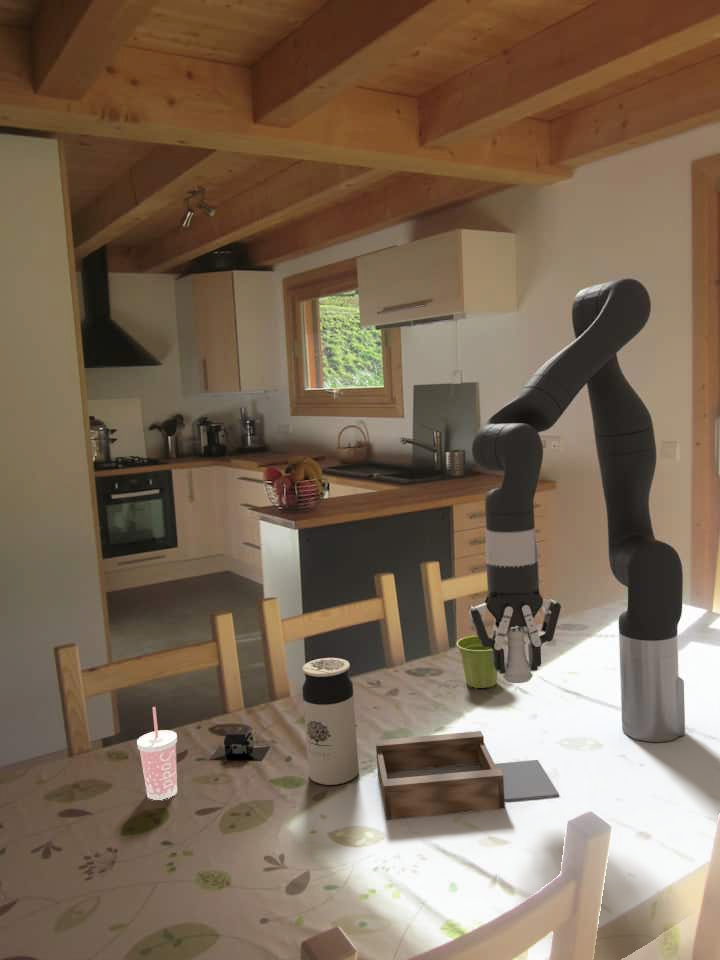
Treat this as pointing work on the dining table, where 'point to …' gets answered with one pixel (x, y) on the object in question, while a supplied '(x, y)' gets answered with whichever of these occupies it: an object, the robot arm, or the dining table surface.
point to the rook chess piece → (517, 657)
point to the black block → (239, 747)
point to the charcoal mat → (526, 781)
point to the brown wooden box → (438, 776)
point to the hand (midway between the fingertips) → (517, 670)
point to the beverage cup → (159, 762)
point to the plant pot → (477, 662)
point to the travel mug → (330, 721)
